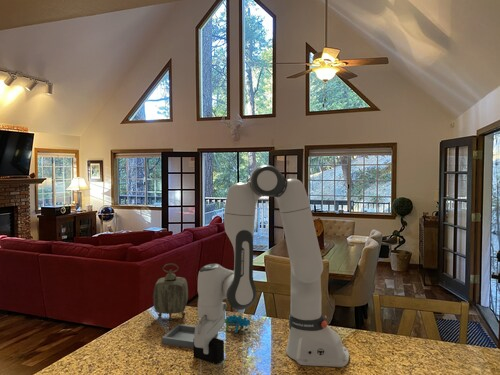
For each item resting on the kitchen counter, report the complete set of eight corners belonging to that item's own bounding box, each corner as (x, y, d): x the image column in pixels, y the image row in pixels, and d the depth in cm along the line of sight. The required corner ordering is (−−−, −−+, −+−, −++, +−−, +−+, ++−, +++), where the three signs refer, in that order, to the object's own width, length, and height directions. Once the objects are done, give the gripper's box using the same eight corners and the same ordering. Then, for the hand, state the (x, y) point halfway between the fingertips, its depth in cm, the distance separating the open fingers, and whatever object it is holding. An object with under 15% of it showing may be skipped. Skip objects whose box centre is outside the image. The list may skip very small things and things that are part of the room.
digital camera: (226, 358, 133) (226, 338, 133) (217, 365, 129) (217, 345, 128) (202, 351, 139) (202, 332, 138) (193, 357, 134) (193, 338, 134)
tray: (212, 334, 153) (212, 328, 153) (198, 349, 140) (198, 342, 140) (178, 329, 157) (178, 323, 157) (161, 343, 144) (161, 337, 144)
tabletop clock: (188, 314, 173) (187, 260, 172) (186, 322, 164) (185, 266, 163) (156, 315, 172) (155, 261, 171) (152, 323, 163) (151, 266, 162)
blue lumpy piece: (253, 324, 159) (245, 313, 152) (251, 338, 155) (243, 327, 148) (230, 323, 163) (221, 313, 156) (227, 337, 159) (217, 327, 152)
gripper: (206, 323, 122) (207, 364, 123) (228, 301, 142) (228, 337, 143) (189, 320, 124) (189, 361, 125) (212, 300, 144) (212, 335, 144)
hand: (210, 348), depth 134 cm, fingers closed on digital camera, 5 cm apart
